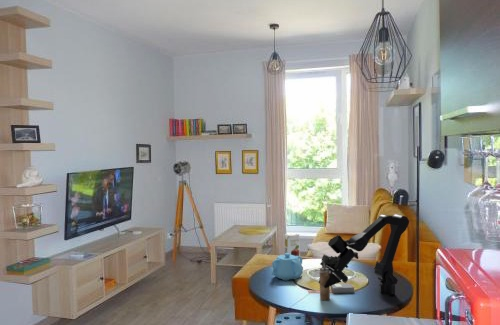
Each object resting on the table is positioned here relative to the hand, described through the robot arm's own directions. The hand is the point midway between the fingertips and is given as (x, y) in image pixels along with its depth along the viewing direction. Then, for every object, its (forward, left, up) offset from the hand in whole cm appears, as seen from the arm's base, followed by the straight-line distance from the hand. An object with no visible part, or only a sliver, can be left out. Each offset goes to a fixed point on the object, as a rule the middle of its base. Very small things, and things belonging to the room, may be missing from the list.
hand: (321, 285), depth 181 cm
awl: (-1, 0, -7) cm, 7 cm away
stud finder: (-12, -10, -6) cm, 17 cm away
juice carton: (+4, -63, -8) cm, 64 cm away
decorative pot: (+11, -37, -8) cm, 40 cm away
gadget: (-11, -36, -9) cm, 39 cm away
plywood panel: (-6, -5, -8) cm, 11 cm away
